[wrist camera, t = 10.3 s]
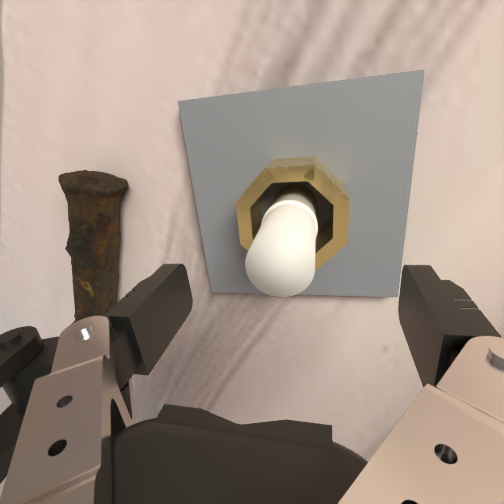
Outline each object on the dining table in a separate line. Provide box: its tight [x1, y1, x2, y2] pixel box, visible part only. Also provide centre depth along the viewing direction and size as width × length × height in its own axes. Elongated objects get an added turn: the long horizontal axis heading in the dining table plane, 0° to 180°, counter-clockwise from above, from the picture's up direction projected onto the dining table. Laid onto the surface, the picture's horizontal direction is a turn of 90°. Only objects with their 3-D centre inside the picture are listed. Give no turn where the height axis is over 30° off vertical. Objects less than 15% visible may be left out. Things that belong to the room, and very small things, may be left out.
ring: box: [236, 156, 350, 271], centre depth 18 cm, size 6×6×4 cm
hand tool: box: [59, 170, 128, 324], centre depth 25 cm, size 19×4×5 cm, turn 164°
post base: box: [178, 70, 424, 297], centre depth 16 cm, size 14×14×10 cm
